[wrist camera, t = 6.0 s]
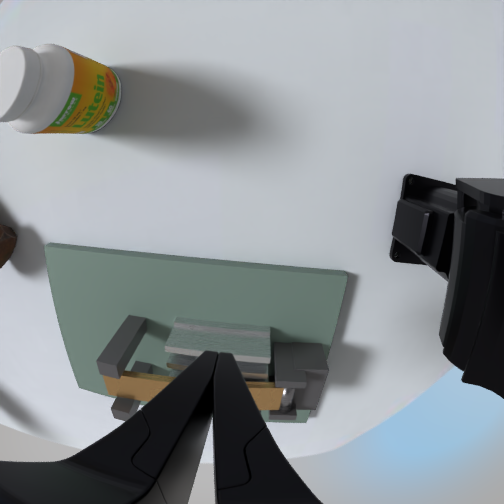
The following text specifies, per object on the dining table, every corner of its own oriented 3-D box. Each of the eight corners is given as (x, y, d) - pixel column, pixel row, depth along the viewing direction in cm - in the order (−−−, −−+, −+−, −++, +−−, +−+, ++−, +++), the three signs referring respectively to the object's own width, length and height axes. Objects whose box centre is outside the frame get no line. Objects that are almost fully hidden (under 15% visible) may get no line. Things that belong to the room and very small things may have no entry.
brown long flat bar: (295, 377, 19) (297, 387, 18) (288, 403, 20) (290, 413, 19) (104, 362, 18) (100, 371, 17) (112, 389, 19) (108, 398, 18)
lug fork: (145, 317, 22) (116, 365, 16) (152, 373, 24) (132, 422, 18) (128, 314, 22) (96, 360, 16) (137, 370, 24) (114, 418, 18)
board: (344, 270, 21) (348, 276, 20) (305, 415, 26) (306, 422, 25) (50, 242, 21) (43, 246, 20) (82, 382, 26) (79, 387, 25)
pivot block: (321, 343, 22) (331, 381, 18) (310, 383, 23) (317, 421, 19) (274, 340, 22) (276, 379, 18) (267, 381, 23) (268, 420, 19)
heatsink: (270, 326, 22) (271, 355, 18) (260, 391, 24) (260, 420, 21) (176, 316, 22) (164, 342, 18) (180, 382, 24) (172, 409, 21)
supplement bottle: (108, 141, 18) (14, 145, 9) (57, 126, 18) (-36, 128, 9) (134, 71, 17) (52, 31, 7) (79, 62, 16) (-6, 34, 7)
